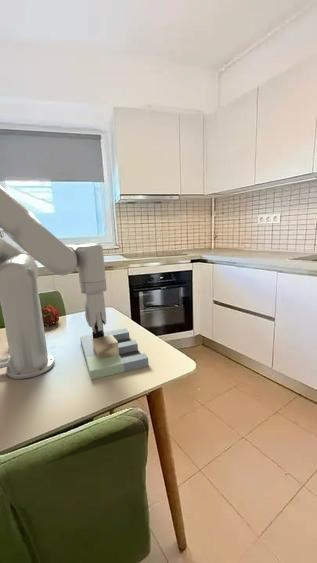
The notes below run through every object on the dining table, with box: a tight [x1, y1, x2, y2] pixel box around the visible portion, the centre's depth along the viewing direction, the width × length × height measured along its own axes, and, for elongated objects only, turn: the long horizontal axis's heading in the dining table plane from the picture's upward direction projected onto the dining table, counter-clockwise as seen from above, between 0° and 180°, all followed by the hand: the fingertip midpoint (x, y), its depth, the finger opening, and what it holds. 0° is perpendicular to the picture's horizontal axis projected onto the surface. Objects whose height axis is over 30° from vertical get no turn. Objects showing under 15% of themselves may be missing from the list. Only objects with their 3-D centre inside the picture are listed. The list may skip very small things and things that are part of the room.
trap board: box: [79, 327, 149, 380], centre depth 86 cm, size 16×24×2 cm, turn 21°
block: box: [92, 335, 119, 360], centre depth 81 cm, size 6×6×4 cm
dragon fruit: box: [41, 304, 60, 326], centre depth 114 cm, size 8×8×12 cm
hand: (99, 343), depth 85 cm, fingers closed
